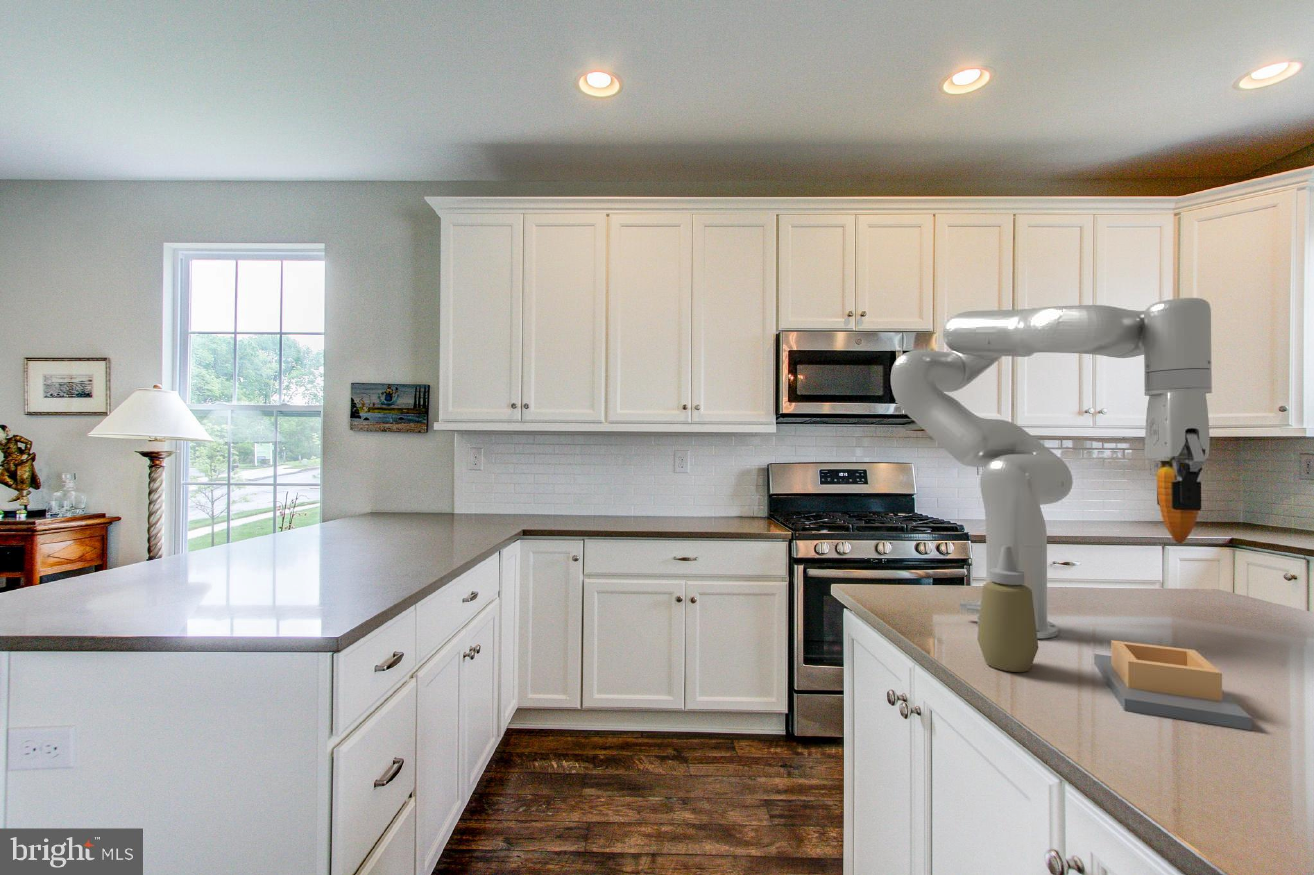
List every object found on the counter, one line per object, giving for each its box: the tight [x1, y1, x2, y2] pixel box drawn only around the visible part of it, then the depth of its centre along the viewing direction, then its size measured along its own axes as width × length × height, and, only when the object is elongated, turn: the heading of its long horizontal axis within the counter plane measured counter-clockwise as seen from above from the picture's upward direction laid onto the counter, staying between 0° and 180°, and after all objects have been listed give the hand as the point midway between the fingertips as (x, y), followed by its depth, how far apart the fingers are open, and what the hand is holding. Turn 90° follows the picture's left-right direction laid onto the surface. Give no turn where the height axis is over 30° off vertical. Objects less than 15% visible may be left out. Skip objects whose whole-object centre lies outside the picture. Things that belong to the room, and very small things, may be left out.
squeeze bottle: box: [977, 546, 1039, 673], centre depth 91 cm, size 8×8×18 cm
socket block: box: [1093, 639, 1253, 731], centre depth 81 cm, size 12×18×5 cm, turn 154°
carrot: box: [1156, 458, 1199, 544], centre depth 89 cm, size 5×5×15 cm
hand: (1178, 506), depth 88 cm, fingers closed on carrot, 4 cm apart
